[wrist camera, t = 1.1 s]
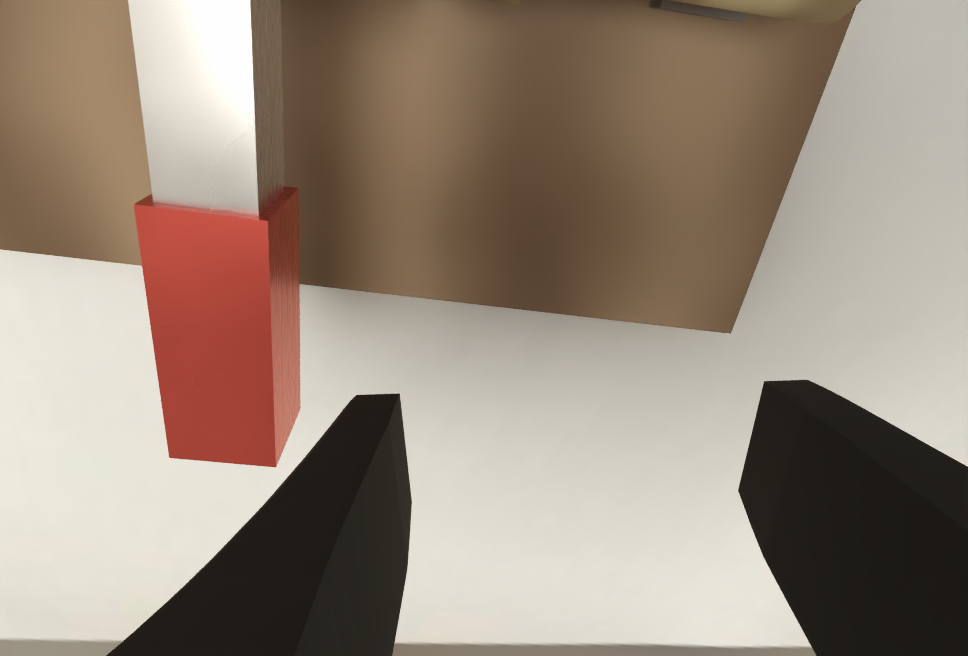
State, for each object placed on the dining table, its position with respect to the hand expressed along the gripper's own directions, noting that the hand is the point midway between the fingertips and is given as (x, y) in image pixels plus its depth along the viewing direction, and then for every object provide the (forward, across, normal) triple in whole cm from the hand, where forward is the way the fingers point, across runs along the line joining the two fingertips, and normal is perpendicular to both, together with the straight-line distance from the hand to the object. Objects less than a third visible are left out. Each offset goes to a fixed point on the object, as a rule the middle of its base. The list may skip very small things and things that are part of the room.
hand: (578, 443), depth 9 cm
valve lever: (+4, +5, -4) cm, 8 cm away
